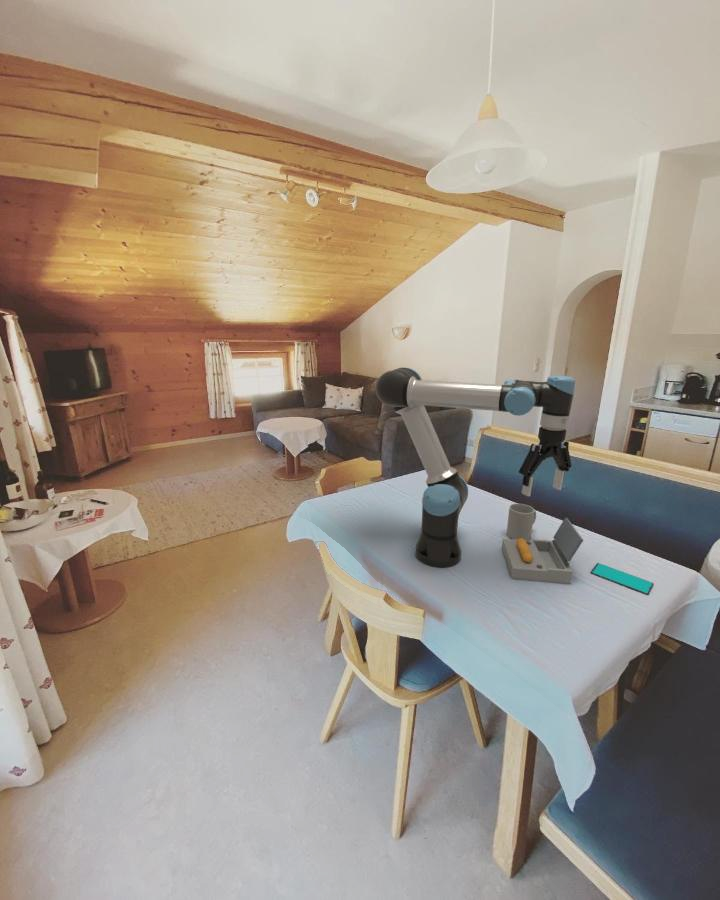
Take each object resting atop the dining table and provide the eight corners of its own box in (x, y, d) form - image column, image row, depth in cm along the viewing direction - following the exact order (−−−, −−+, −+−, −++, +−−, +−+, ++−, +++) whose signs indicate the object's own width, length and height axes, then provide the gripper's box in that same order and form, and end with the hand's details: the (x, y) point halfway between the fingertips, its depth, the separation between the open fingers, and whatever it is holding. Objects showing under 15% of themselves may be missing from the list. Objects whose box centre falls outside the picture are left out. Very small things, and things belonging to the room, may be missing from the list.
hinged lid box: (511, 578, 119) (513, 566, 118) (501, 547, 136) (502, 536, 135) (570, 583, 117) (572, 571, 115) (552, 551, 134) (554, 540, 132)
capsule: (523, 563, 120) (524, 555, 120) (515, 543, 132) (516, 535, 131) (533, 564, 120) (534, 556, 119) (524, 544, 131) (525, 536, 130)
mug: (519, 543, 139) (523, 515, 136) (501, 533, 146) (504, 506, 143) (542, 535, 144) (546, 508, 141) (523, 525, 151) (527, 499, 148)
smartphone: (597, 562, 126) (653, 583, 116) (597, 565, 126) (653, 585, 116) (590, 572, 121) (648, 594, 111) (589, 574, 122) (647, 596, 111)
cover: (580, 539, 114) (585, 540, 114) (565, 517, 127) (569, 518, 127) (564, 565, 117) (568, 566, 117) (550, 541, 130) (554, 542, 130)
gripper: (532, 434, 111) (521, 502, 117) (592, 427, 121) (578, 490, 127) (512, 428, 117) (503, 492, 124) (570, 421, 127) (559, 482, 134)
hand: (541, 491), depth 126 cm, fingers open, 13 cm apart
